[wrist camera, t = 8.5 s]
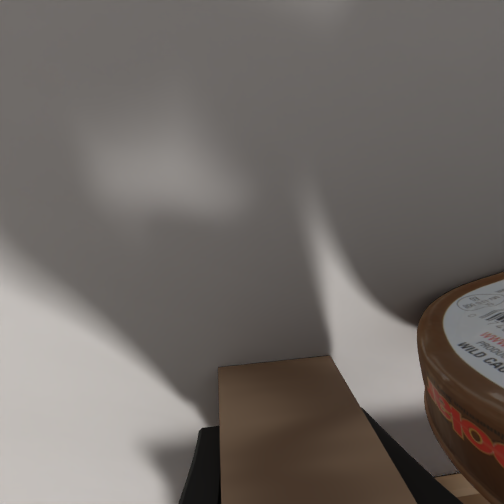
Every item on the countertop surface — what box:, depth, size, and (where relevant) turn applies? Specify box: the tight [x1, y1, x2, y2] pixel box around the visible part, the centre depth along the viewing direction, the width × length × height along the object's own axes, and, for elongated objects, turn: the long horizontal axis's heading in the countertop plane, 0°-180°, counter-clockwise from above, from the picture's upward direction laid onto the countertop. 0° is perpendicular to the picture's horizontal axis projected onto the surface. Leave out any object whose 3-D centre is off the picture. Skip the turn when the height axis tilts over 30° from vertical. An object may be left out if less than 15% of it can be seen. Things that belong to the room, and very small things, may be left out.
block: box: [218, 356, 417, 504], centre depth 9 cm, size 4×4×5 cm
